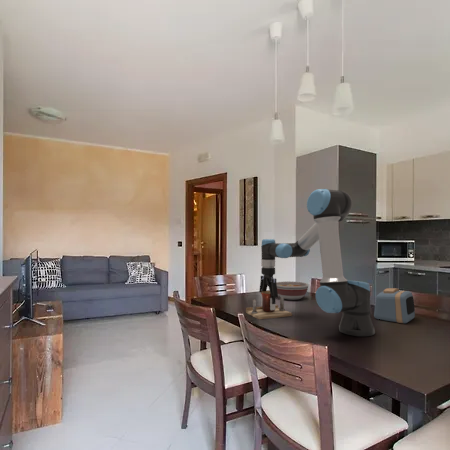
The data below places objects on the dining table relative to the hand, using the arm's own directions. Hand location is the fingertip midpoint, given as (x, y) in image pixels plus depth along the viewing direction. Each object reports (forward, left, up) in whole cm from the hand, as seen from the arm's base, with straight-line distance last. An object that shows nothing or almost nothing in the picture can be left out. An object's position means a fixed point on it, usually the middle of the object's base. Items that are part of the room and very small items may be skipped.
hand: (268, 307), depth 190 cm
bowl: (+34, -36, -4) cm, 49 cm away
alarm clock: (-33, -56, -4) cm, 65 cm away
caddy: (0, 0, -3) cm, 3 cm away
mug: (0, 0, -2) cm, 2 cm away
